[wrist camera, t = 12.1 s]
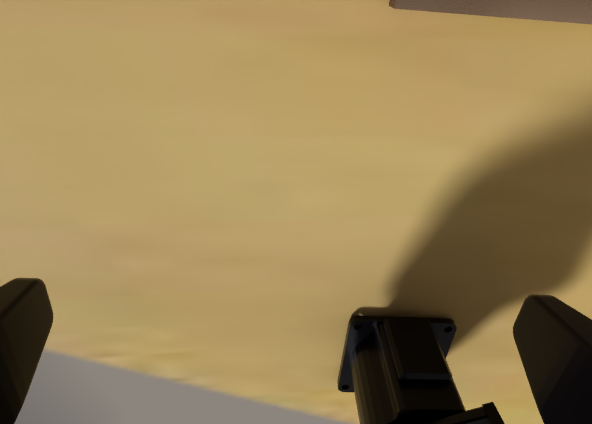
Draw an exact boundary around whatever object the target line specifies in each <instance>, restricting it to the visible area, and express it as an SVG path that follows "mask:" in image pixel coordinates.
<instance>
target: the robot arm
mask: <svg viewBox="0 0 592 424" xmlns="http://www.w3.org/2000/svg"><path fill="white" fill-rule="evenodd" d="M52 323H53V311H52V307H51V304H50V300H49V297H48V293H47V290H46V286H45V284H44V282H43V281H42V280H41V279H38V278H16V279H14V280H12V281H10V282H8V283H6V284H4V285H3V286H1V287H0V424H14V423H15V421H16V419H17V416H18V414H19V412H20V410H21V408H22V406H23V403H24V400H25V398H26V395H27V392H28V390H29V387H30V385H31V382H32V379H33V376H34V373H35V371H36V368H37V365H38V363H39V360H40V357H41V354H42V351H43V349H44V346H45V343H46V340H47V338H48V335H49V332H50V329H51V326H52ZM356 324H359V325H356ZM455 332H456V325H455V323H454V321H453V320H451V319H444V318H409V317H374V316H355V317H353V318H351V319H350V320H349V324H348V329H347V334H346V339H345V345H344V350H343V355H342V360H341V366H340V371H339V376H338V389H339V390H340V391H342V392H355V398H356V404H357V409H358V415H359V421H360V424H504V422H503V420H502V418H501V416H500V414H499V412H498V411H497V409H496V407H495V405H494V403H493V402H490V403H486V404H482V407H479V408H475V409H471V410H468V411H466V410H465V408H464V405H463V403H462V400H461V398H460V395H459V393H458V391H457V388H456V386H455V383H454V381H453V378H452V374H451V371H450V369H449V367H448V364H447V362H446V356H447V353H448V351H449V348H450V345H451V342H452V340H453V337H454V334H455ZM513 336H514V340H515V343H516V346H517V348H518V351H519V354H520V357H521V360H522V363H523V366H524V369H525V372H526V375H527V378H528V381H529V384H530V387H531V390H532V393H533V396H534V399H535V402H536V404H537V407H538V410H539V412H540V415H541V417H542V420H543V422H544V424H592V320H591V319H590V318H588V317H586V316H585V315H583V314H581V313H580V312H578V311H577V310H575V309H573V308H572V307H570V306H568V305H567V304H565V303H564V302H562V301H560V300H559V299H557V298H555V297H554V296H551V295H529V296H528V297H527V298H526V299H525V301H524V303H523V305H522V308H521V310H520V312H519V314H518V316H517V319H516V321H515V323H514V327H513Z"/></svg>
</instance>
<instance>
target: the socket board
mask: <svg viewBox="0 0 592 424" xmlns="http://www.w3.org/2000/svg"><path fill="white" fill-rule="evenodd" d="M389 6H391V7H393V8H395V9H406V10H419V11H431V12H444V13H456V14H469V15H481V16H494V17H506V18H519V19H531V20H544V21H557V22H569V23H582V24H592V0H390V2H389Z"/></svg>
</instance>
